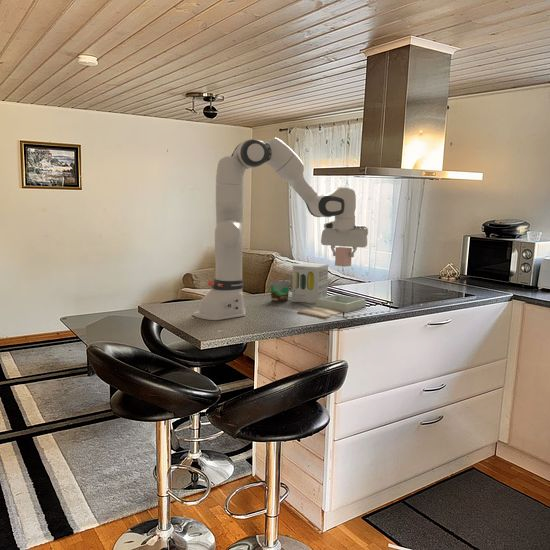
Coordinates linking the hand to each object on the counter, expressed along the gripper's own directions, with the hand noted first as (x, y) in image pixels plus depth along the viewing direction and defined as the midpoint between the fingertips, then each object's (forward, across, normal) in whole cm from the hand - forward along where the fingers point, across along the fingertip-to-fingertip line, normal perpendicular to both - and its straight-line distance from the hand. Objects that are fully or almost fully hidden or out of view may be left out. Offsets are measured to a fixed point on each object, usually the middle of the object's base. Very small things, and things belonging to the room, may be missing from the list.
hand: (343, 256), depth 222 cm
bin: (+23, 0, 0) cm, 23 cm away
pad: (+23, +4, +15) cm, 28 cm away
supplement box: (+23, +18, -7) cm, 30 cm away
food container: (+23, +29, -1) cm, 37 cm away
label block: (+4, 0, 0) cm, 4 cm away
